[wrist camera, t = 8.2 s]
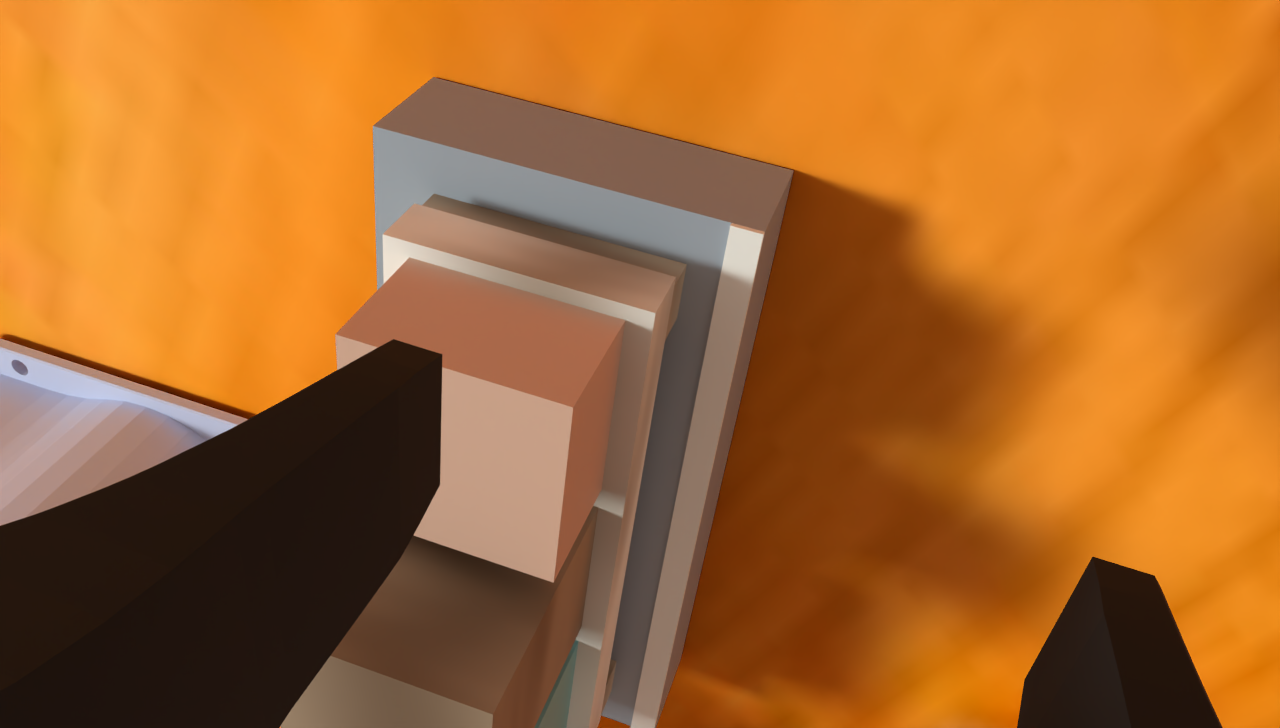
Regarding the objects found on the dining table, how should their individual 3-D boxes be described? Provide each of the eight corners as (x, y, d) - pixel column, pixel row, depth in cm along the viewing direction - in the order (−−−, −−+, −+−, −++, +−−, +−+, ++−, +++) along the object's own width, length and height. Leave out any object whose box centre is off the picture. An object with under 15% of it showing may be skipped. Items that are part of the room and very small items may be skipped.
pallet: (429, 631, 29) (280, 877, 24) (433, 183, 21) (208, 402, 16) (610, 695, 28) (498, 965, 23) (688, 254, 20) (543, 512, 15)
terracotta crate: (410, 428, 22) (345, 512, 20) (409, 257, 20) (335, 334, 18) (601, 489, 21) (553, 582, 19) (625, 320, 19) (573, 407, 17)
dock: (429, 573, 32) (385, 642, 30) (433, 77, 23) (370, 128, 21) (680, 659, 30) (652, 737, 28) (793, 170, 21) (763, 235, 19)
